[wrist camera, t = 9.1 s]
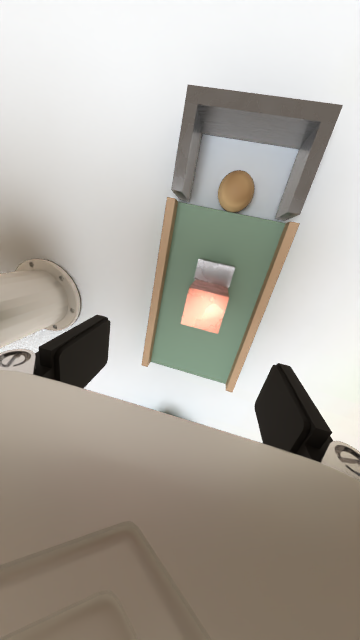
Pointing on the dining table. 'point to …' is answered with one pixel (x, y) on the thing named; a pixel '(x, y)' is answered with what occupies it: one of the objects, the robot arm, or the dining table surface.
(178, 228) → the pitch
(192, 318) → the silver-capped pink block
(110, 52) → the dining table surface
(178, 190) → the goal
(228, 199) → the ball
